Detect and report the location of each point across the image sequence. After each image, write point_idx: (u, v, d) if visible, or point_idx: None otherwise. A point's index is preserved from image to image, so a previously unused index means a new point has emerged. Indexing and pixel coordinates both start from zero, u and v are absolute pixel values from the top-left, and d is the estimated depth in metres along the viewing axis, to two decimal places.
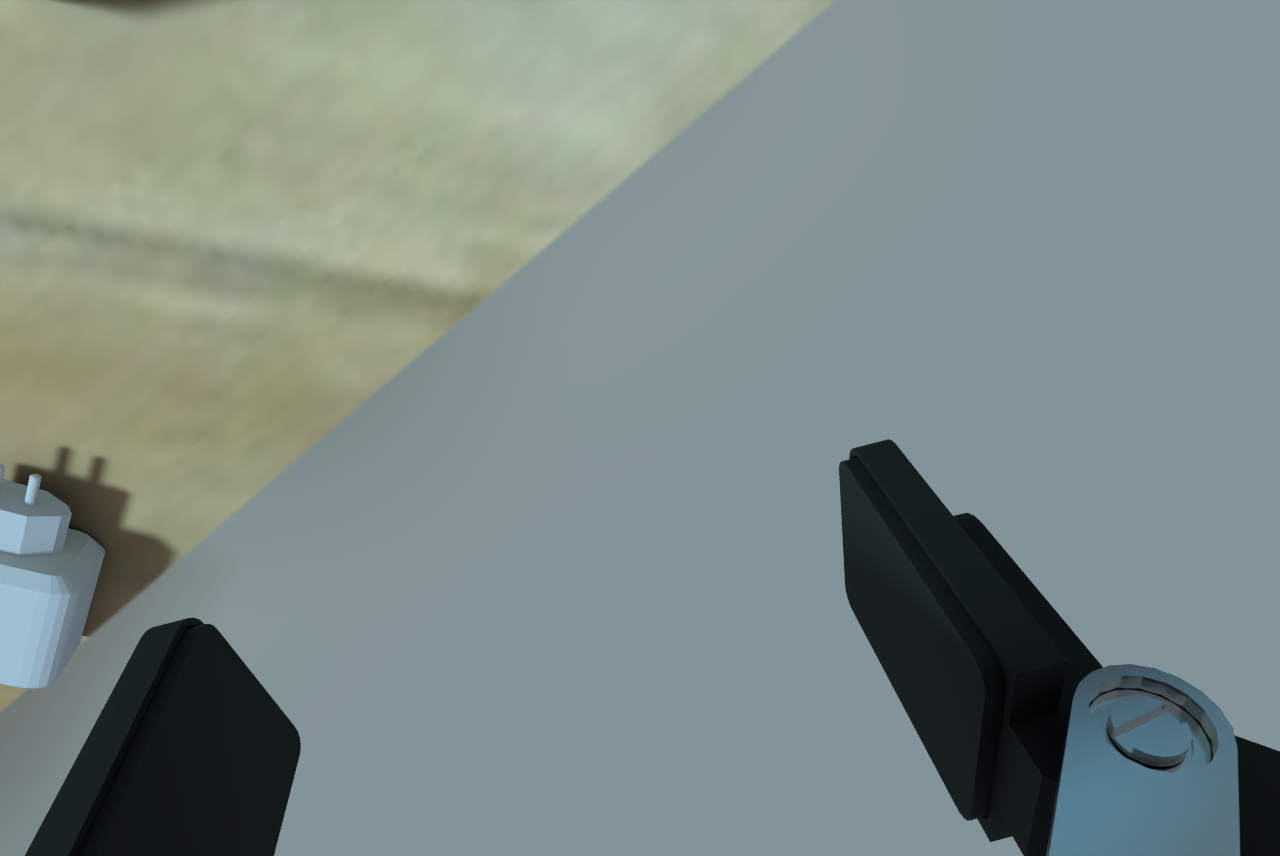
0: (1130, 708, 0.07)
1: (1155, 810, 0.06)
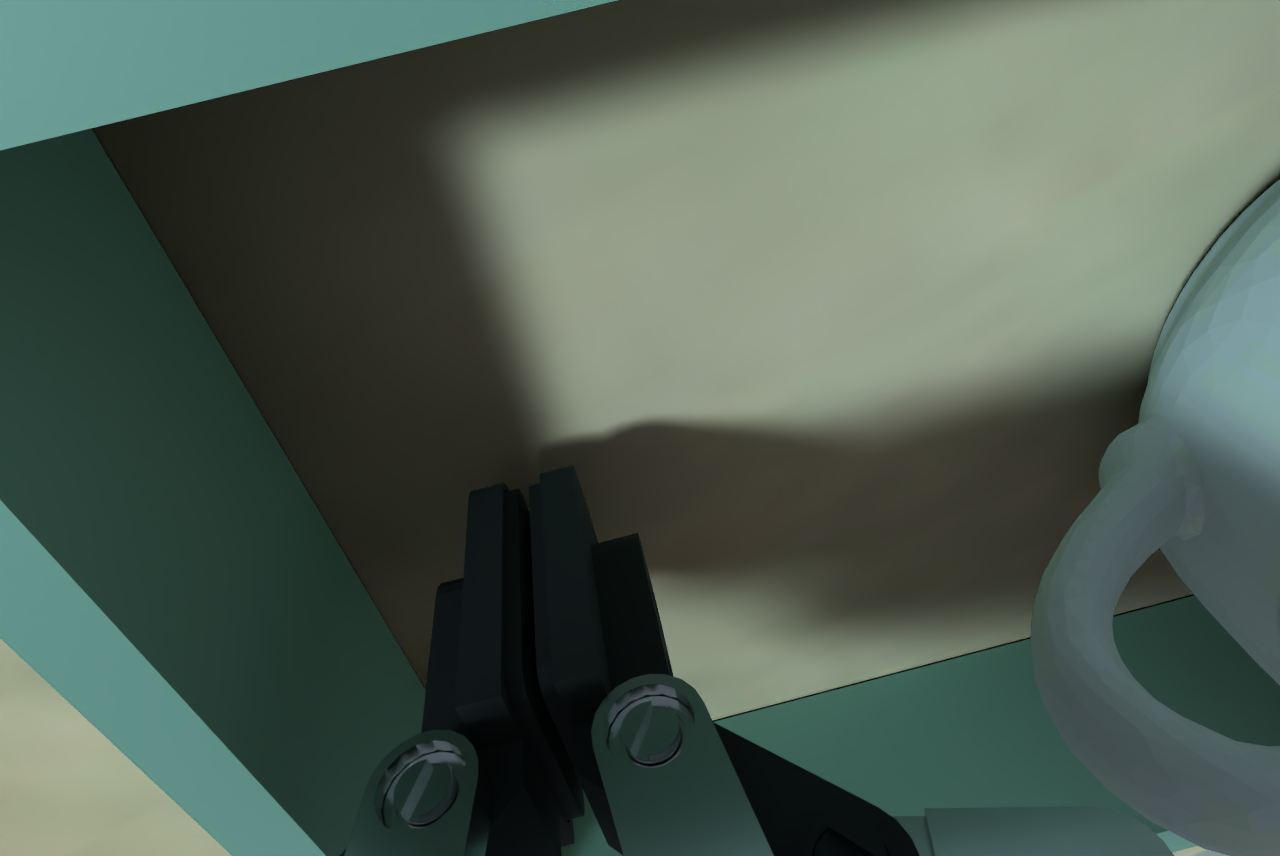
0: (632, 723, 0.08)
1: (610, 801, 0.07)
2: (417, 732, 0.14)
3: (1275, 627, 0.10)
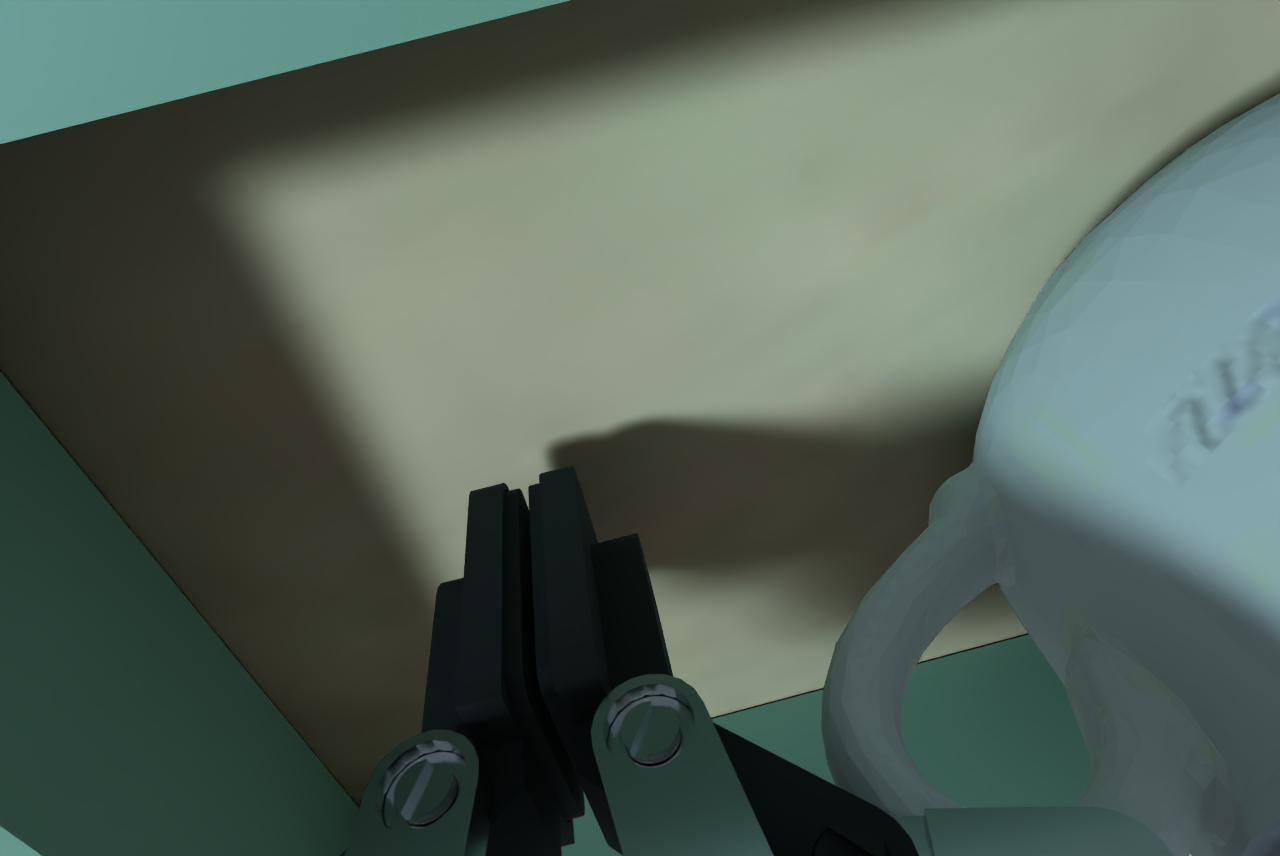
0: (632, 723, 0.08)
1: (610, 801, 0.07)
2: (271, 768, 0.14)
3: None
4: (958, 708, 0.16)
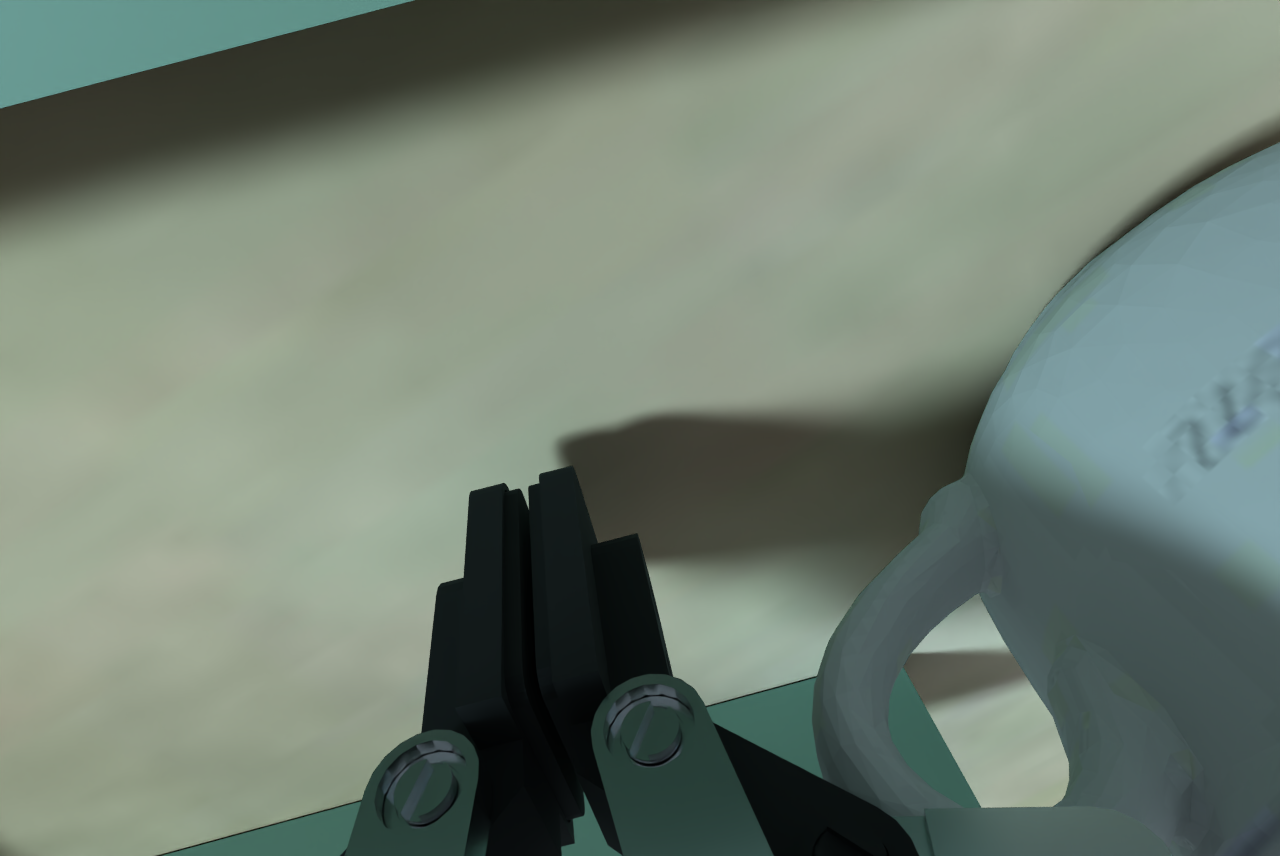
0: (632, 723, 0.08)
1: (609, 801, 0.07)
2: None
3: None
4: None
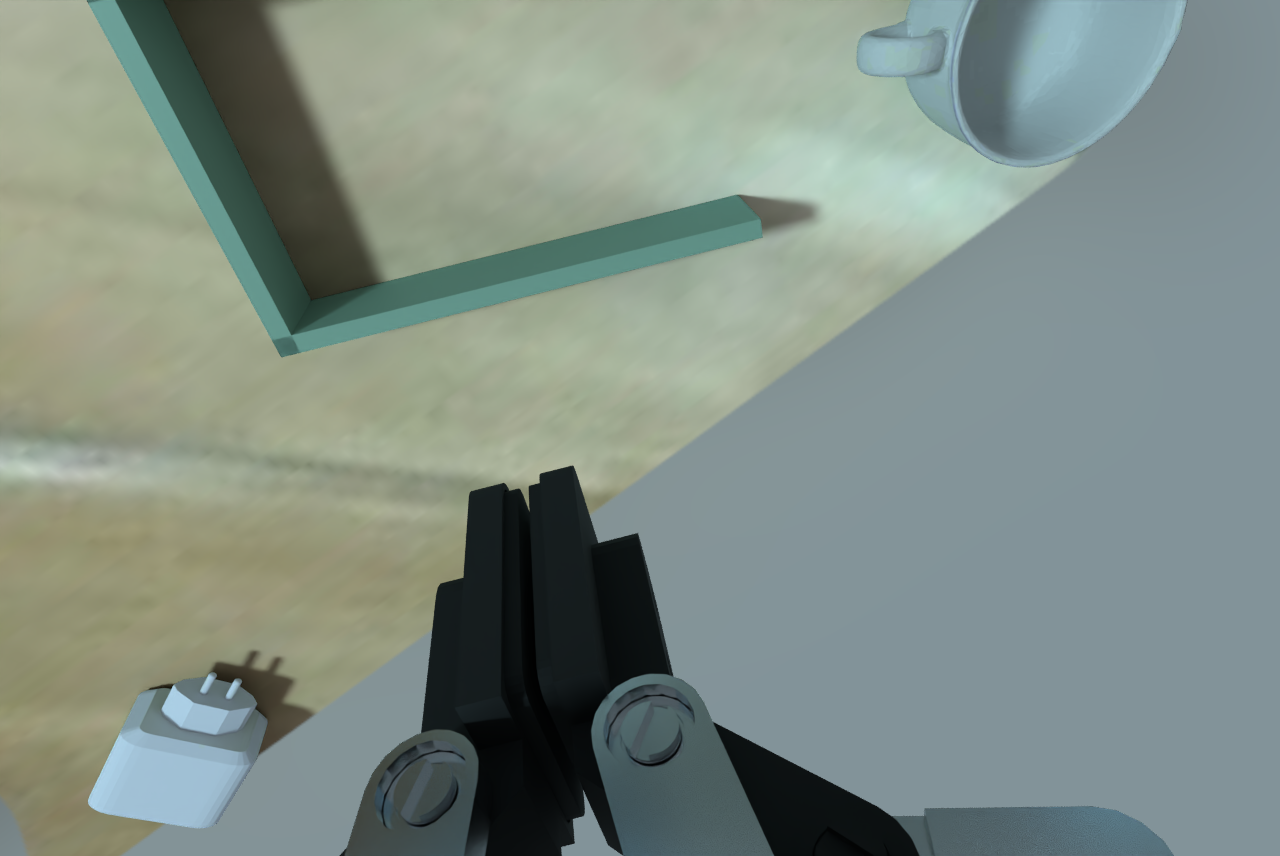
0: (632, 723, 0.08)
1: (610, 800, 0.07)
2: (274, 243, 0.37)
3: None
4: (551, 248, 0.40)
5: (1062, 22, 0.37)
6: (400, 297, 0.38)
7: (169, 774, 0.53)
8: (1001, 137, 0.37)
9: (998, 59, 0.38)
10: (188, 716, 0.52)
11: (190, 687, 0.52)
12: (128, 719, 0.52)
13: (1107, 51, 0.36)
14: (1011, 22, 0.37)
